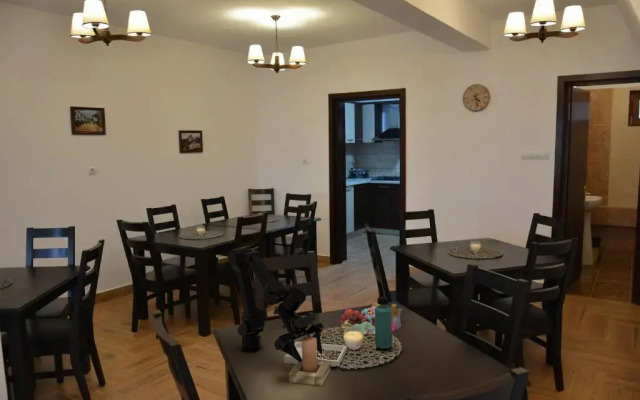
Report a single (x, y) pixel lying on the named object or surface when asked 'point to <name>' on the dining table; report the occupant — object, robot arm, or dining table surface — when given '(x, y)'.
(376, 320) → the beverage bottle
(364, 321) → the candy landscape model
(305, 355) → the dowel
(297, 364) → the holder
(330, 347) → the tray
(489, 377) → the dining table surface
